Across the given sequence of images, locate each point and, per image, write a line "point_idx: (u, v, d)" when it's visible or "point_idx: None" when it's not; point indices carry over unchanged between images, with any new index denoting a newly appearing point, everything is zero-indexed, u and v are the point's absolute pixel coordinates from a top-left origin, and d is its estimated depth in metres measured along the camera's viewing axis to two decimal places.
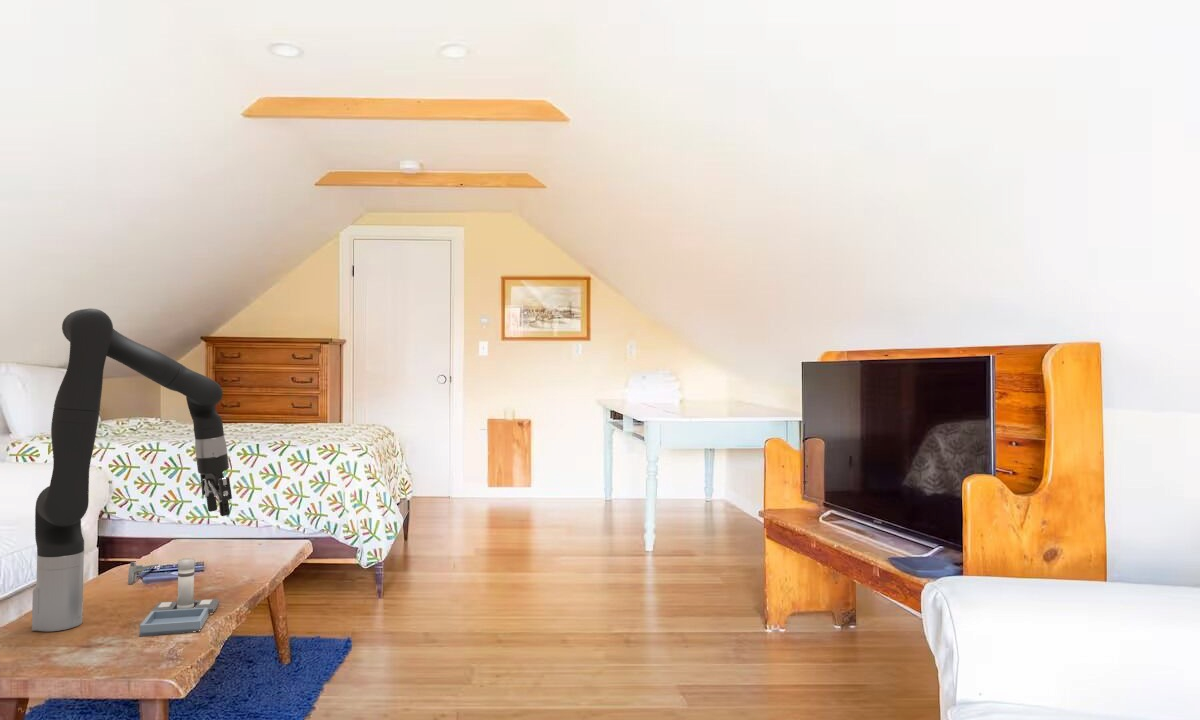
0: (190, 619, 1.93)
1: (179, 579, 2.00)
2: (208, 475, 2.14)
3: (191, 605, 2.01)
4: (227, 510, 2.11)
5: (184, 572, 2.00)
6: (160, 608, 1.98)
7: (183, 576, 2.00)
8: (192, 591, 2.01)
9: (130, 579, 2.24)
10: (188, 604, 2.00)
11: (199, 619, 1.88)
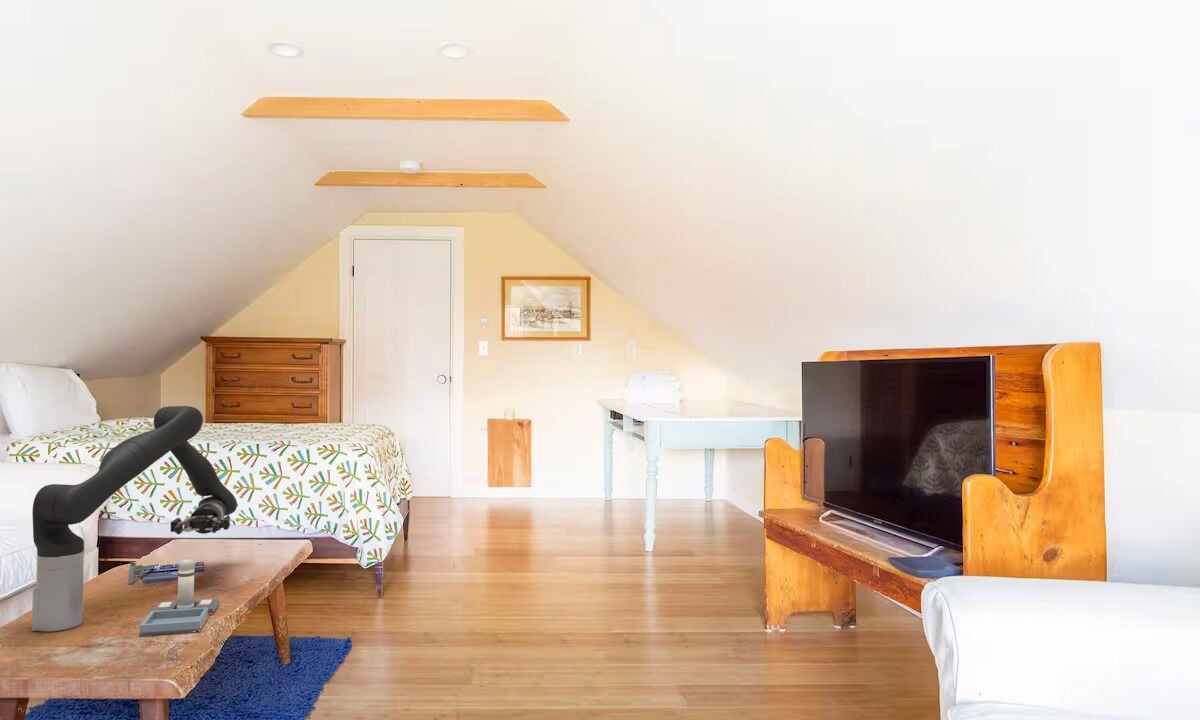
0: (190, 619, 1.93)
1: (179, 579, 2.00)
2: None
3: (191, 605, 2.01)
4: (218, 529, 2.15)
5: (184, 572, 2.00)
6: (160, 608, 1.98)
7: (183, 576, 2.00)
8: (192, 591, 2.01)
9: (130, 579, 2.24)
10: (188, 604, 2.00)
11: (199, 619, 1.88)
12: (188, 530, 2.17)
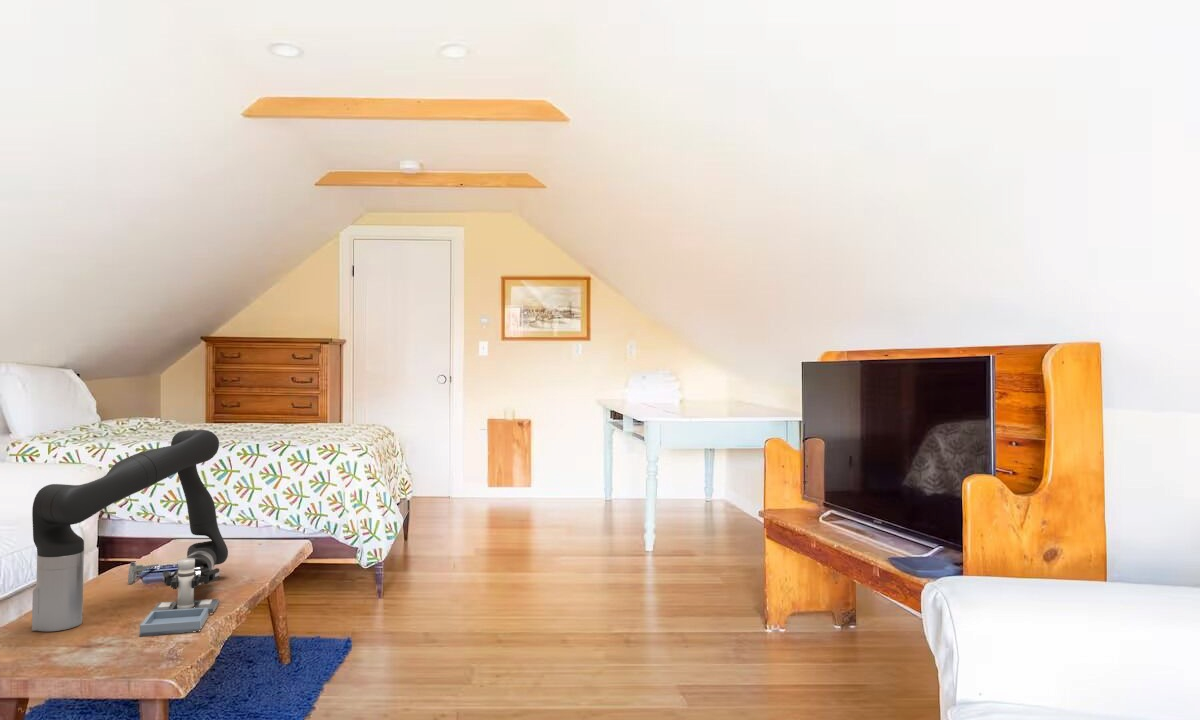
0: (190, 619, 1.93)
1: (179, 579, 2.00)
2: None
3: (191, 605, 2.01)
4: (198, 584, 2.01)
5: (184, 573, 2.00)
6: (160, 608, 1.98)
7: (183, 576, 2.00)
8: (192, 591, 2.01)
9: (130, 579, 2.24)
10: (188, 604, 2.00)
11: (199, 619, 1.88)
12: None
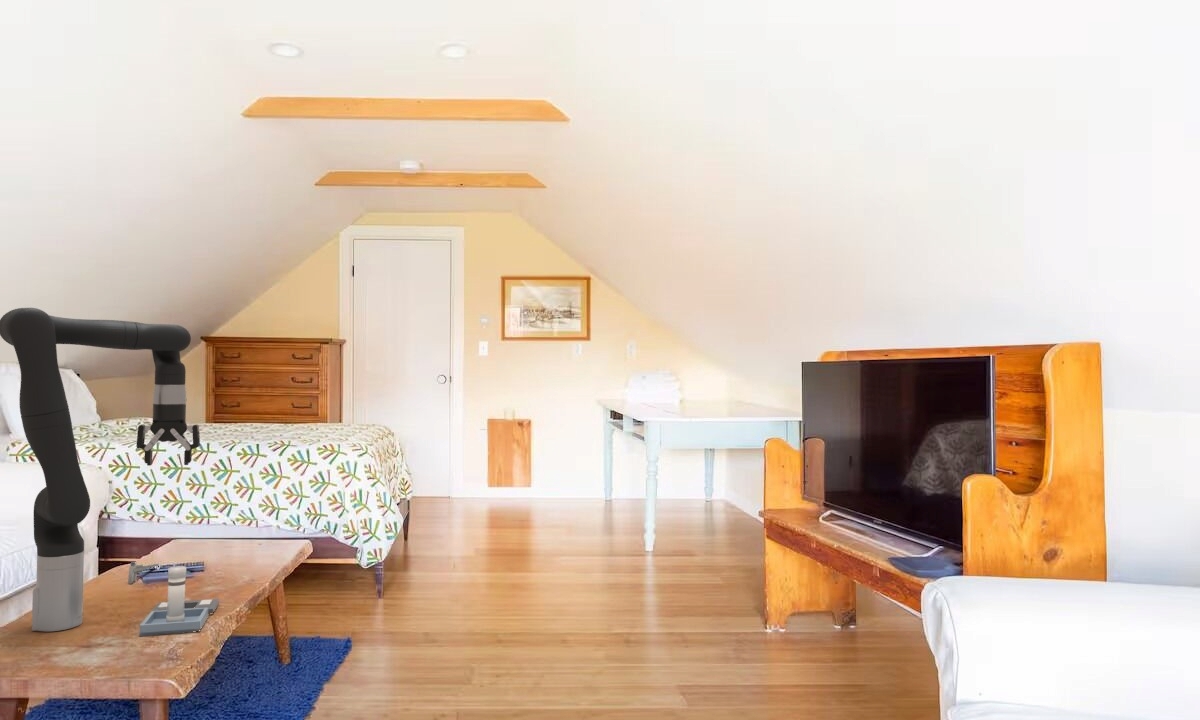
0: (190, 619, 1.93)
1: (169, 588, 1.89)
2: (163, 424, 2.05)
3: (181, 616, 1.89)
4: None
5: (175, 581, 1.88)
6: (160, 608, 1.98)
7: (173, 585, 1.88)
8: (183, 601, 1.90)
9: (130, 579, 2.25)
10: (178, 615, 1.89)
11: (199, 619, 1.88)
12: None
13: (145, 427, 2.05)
